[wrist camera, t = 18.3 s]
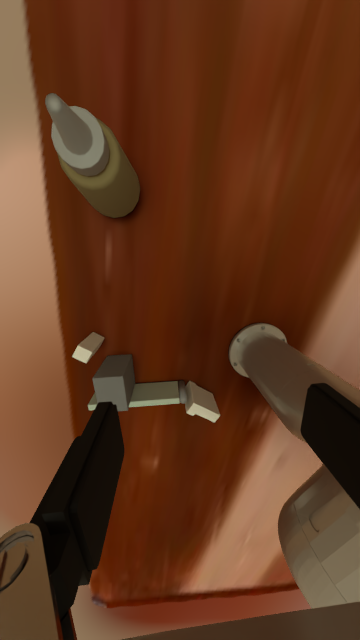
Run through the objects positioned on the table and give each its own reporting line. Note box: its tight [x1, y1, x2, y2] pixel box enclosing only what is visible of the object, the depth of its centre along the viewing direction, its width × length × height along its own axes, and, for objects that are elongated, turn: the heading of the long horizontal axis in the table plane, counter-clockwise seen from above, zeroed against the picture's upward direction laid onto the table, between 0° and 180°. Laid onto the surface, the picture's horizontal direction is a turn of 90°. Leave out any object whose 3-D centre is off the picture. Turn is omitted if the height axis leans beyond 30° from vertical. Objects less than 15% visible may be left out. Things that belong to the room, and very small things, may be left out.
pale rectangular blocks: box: [72, 332, 220, 423], centre depth 36 cm, size 30×3×7 cm, turn 58°
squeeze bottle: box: [45, 93, 140, 218], centre depth 22 cm, size 8×8×18 cm
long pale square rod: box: [88, 380, 187, 410], centre depth 38 cm, size 19×2×6 cm, turn 92°
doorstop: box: [93, 354, 135, 411], centre depth 35 cm, size 5×7×8 cm
